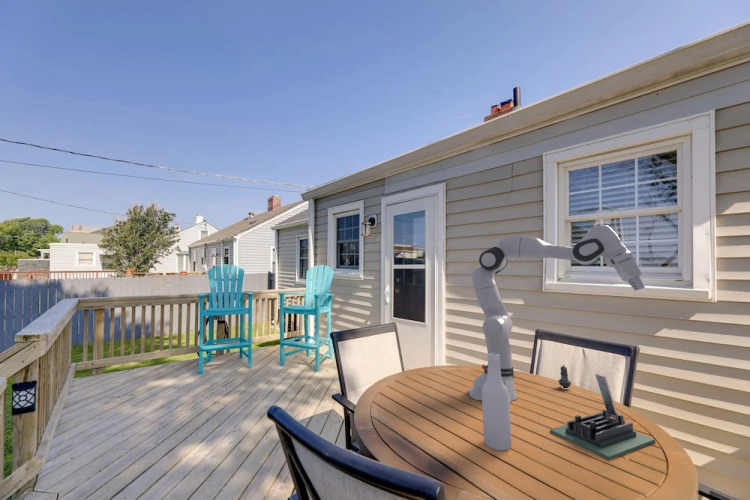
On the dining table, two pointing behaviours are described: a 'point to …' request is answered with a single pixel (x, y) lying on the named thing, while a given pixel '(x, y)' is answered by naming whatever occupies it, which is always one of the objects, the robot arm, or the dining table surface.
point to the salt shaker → (564, 378)
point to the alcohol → (496, 408)
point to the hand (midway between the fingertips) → (639, 289)
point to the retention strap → (606, 395)
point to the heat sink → (600, 429)
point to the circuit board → (607, 451)
